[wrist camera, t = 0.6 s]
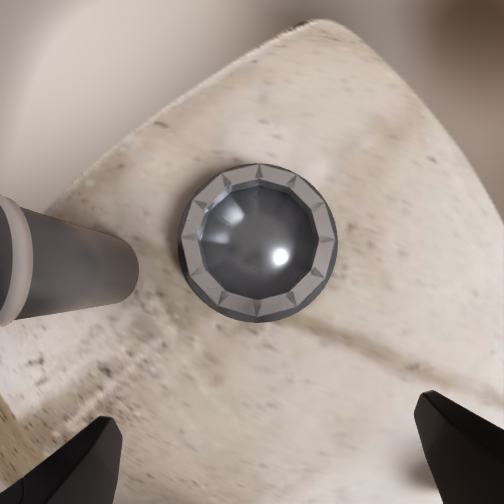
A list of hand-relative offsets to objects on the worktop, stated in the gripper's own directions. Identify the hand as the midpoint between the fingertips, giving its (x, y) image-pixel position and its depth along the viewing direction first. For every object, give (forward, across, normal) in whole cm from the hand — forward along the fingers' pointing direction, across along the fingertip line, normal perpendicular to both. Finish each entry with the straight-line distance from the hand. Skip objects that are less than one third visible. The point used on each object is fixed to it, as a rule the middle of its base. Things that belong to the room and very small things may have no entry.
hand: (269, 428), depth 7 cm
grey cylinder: (+14, +11, 0) cm, 18 cm away
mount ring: (+15, 0, -1) cm, 15 cm away
